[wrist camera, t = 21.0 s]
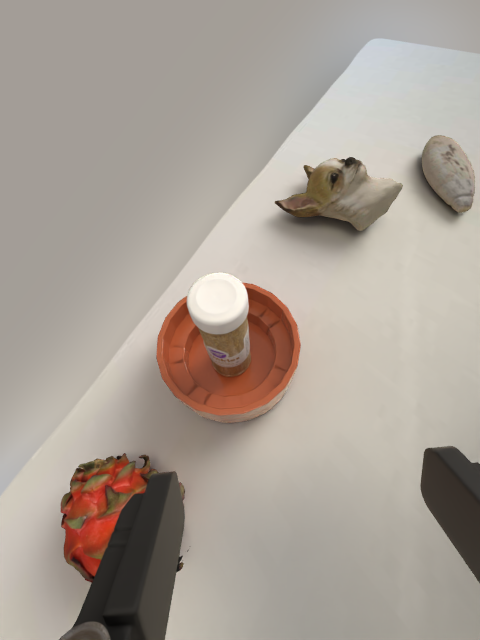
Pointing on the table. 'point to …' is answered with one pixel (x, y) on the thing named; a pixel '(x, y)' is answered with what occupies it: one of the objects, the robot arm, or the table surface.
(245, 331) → the sprinkles bottle
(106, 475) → the dragon fruit
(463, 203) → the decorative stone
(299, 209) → the ceramic sculpture
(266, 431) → the table surface
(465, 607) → the table surface
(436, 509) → the robot arm
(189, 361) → the bowl
